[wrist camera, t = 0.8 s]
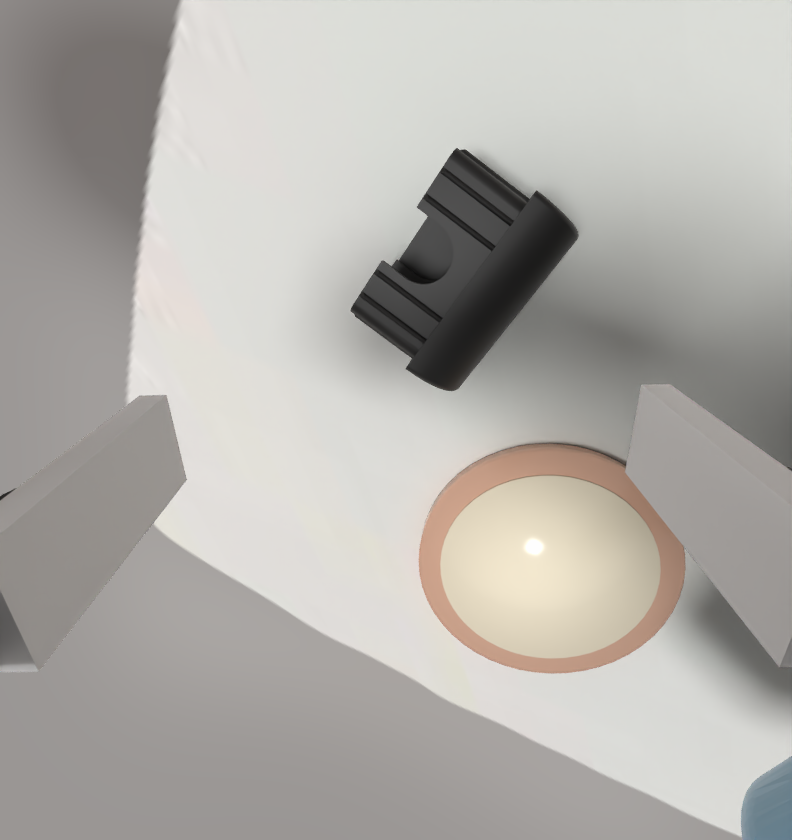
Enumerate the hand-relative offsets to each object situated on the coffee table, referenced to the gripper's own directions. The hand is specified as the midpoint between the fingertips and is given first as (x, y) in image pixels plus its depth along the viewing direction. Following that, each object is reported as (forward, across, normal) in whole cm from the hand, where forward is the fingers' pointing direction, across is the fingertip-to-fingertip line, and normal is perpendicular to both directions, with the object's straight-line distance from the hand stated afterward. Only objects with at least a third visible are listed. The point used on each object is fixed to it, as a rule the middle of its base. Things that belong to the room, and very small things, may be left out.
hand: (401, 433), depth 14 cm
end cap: (+18, -4, -2) cm, 19 cm away
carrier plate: (+15, -9, +17) cm, 24 cm away
